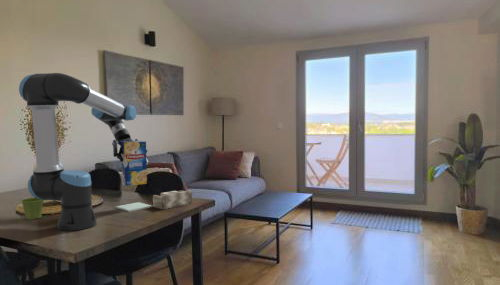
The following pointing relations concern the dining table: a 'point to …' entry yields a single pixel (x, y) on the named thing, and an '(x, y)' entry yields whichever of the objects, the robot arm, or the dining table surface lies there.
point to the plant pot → (32, 207)
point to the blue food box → (134, 163)
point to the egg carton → (172, 200)
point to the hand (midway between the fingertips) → (137, 164)
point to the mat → (133, 206)
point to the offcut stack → (168, 193)
